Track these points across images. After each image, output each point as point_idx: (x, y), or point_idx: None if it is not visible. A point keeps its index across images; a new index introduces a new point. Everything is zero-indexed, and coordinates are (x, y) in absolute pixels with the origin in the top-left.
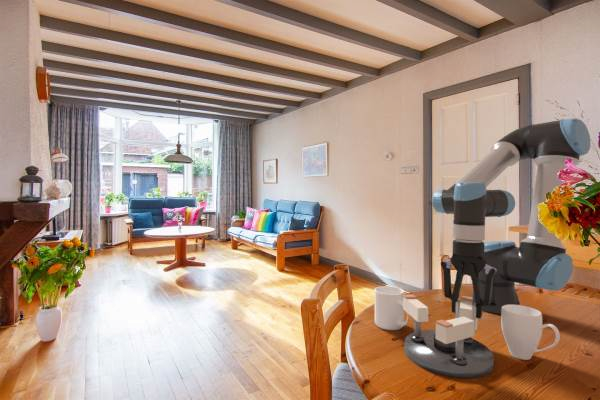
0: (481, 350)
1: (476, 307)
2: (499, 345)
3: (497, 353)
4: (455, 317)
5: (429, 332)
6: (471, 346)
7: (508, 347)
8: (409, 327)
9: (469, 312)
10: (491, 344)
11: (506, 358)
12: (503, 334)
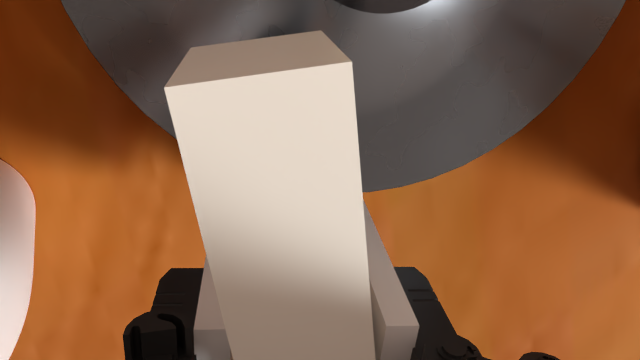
0: (140, 11)
1: (193, 342)
2: (113, 258)
3: (92, 146)
4: (375, 230)
5: (505, 97)
6: (216, 38)
7: (15, 188)
8: (602, 184)
9: (205, 69)
10: (153, 244)
11: (28, 109)
12: (10, 227)
